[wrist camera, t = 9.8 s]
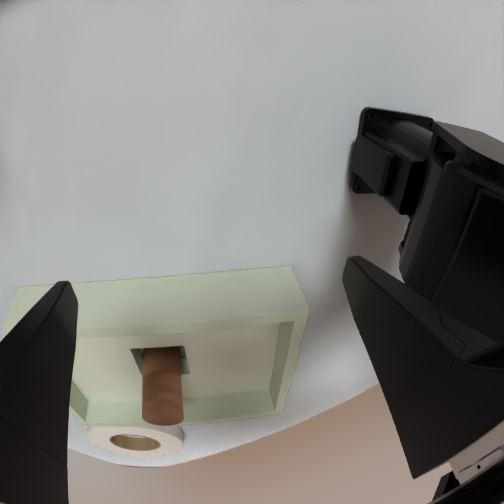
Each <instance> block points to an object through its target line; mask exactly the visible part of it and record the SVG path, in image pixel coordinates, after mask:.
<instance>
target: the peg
mask: <svg viewBox="0 0 504 504" xmlns="http://www.w3.org/2000/svg"><path fill="white" fill-rule="evenodd" d="M142 418H143V420H144V421H146V422H147V423H150V424H153V425H159V426H171V425H176V424H179V423H181V422H182V421H183V420H184V411H183V398H182V383H181V366H180V346H169V347H153V348H143V373H142Z"/></svg>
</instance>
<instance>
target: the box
mask: <svg viewBox="0 0 504 504" xmlns="http://www.w3.org/2000/svg"><path fill="white" fill-rule="evenodd" d="M54 285H55V284H54ZM54 285H38V286H22V287H20V288H19V290H18V292H17V294H16V297H15V299H14V301H13V303H12V306H11V308H10V311H9V313H8V315H7V318H6V320H5V323H4V325H3V328H2V330H3V331H4V333H5V334H6V335H7V334H8V333H9V332H10V331H11V329H12V328H13V327H14V326H15V325H16V324H17V323H18V322H19V321H20V320H21V319H22V317H23V316H24V315H25V314H26V313H27V312H28V311H29V310H30V309H31V308H32V307H33V306H34V305H35V304H36V303H37V302H38V301H39V300H40V299H41V298H42V297H43V296H44V295H45V294H46V293H47V292H48V291H49V290H50V289H51V288H52V287H53V286H54ZM71 285H72V288H73V290H74V292H75V295H76V297H77V299H78V319H77V337H76V351H75V358H74V366H73V374H72V383H71V393H70V405H69V413H70V414H71V415H72V416H73V417H74V418H75V419H76V420H77V421H78V422H79V423H80V424H81V425H89V426H115V427H151V426H159V425H153V424H150V423H147V422H146V421H144V420H143V418H142V373H143V360H142V358H141V355H140V353H139V350H138V348H153V347H169V346H183V345H184V348H185V353H186V357H187V358H185V359H180V366H181V383H182V398H183V411H184V420H183V421H182V422H181V423H179V424H176V425H171V426H177V425H193V424H205V423H216V422H225V421H234V420H242V419H249V418H256V417H263V416H269V415H275V414H281V413H283V410H284V406H285V403H286V399H287V396H288V392H289V388H290V385H291V381H292V377H293V374H294V370H295V366H296V362H297V358H298V355H299V351H300V347H301V343H302V339H303V335H304V330H305V326H306V322H307V318H308V314H309V307H308V305H307V302H306V300H305V298H304V295H303V293H302V290H301V288H300V286H299V283H298V281H297V279H296V276H295V274H294V271H293V269H292V267H291V265H289V266H279V267H268V268H257V269H246V270H235V271H224V272H212V273H201V274H189V275H177V276H164V277H152V278H139V279H126V280H112V281H98V282H84V283H71Z"/></svg>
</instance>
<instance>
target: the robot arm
mask: <svg viewBox="0 0 504 504" xmlns="http://www.w3.org/2000/svg"><path fill="white" fill-rule="evenodd" d="M369 112H371V116H370V117H368V113H369ZM428 122H429V125H428ZM352 170H353V171H352V177H351V182H350V189H351V190H352V191H353V192H354V193H357V194H366V193H377V194H378V195H379V196H380V197H383V198H384V199H385V200H386V201H387V202H388V203H389V204H390V205H391V206H392V207H393V208H394V209H395V210H396V211H397V212H398V213H399V214H401V215H406V216H407V217H408V218H409V219H410V221H409V224H408V227H407V230H406V233H405V236H404V239H403V241H401V243H400V246H399V252H400V255H401V256H400V260H399V270H400V273H401V275H402V278H403V281H404V282H405V283H402V282H401V281H399V280H398V279H396V278H395V277H393V276H391V275H390V274H388V273H387V272H385V271H383V270H382V269H380V268H379V267H377V266H375V265H374V264H372V263H371V262H369V261H367V260H366V259H364V258H362V257H361V256H352V257H349V258H348V259H347V261H346V265H345V268H344V272H343V276H342V280H343V285H344V288H345V291H346V294H347V298H348V301H349V304H350V307H351V311H352V314H353V317H354V320H355V323H356V325H357V328H358V330H359V333H360V335H361V337H362V340H363V342H364V345H365V347H366V350H367V352H368V355H369V357H370V360H371V362H372V365H373V367H374V370H375V372H376V375H377V378H378V380H379V383H380V385H381V388H382V391H383V393H384V396H385V399H386V401H387V404H388V407H389V410H390V412H391V415H392V418H393V420H394V424H395V426H396V430H397V433H398V435H399V438H400V441H401V444H402V447H403V450H404V453H405V456H406V459H407V462H408V465H409V469H410V472H411V475H412V477H413V479H416V478H418V477H420V476H422V475H424V474H426V473H428V472H430V471H432V470H434V469H436V468H438V467H440V466H441V465H443V464H445V463H447V462H449V463H450V465H451V467H452V470H453V471H451V472H450V473H448V474H446V475H444V476H443V477H441V480H440V482H439V485H438V487H437V490H436V492H435V495H434V497H433V500H432V502H430V503H428V504H504V143H503V142H501V141H499V140H497V139H495V138H493V137H491V136H489V135H487V134H485V133H483V132H480V131H476V130H472V129H468V128H464V127H460V126H456V125H452V124H447V123H443V122H438V121H434V120H433V119H432V118H430V117H426V116H421V115H416V114H411V113H405V112H399V111H393V110H387V109H380V108H373V107H366V108H364V109H363V111H362V115H361V122H360V129H359V135H358V136H357V138H356V144H355V150H354V156H353V162H352ZM358 184H359V186H358V187H357V188H355V187H356V185H358ZM77 319H78V299H77V297H76V295H75V292H74V290H73V288H72V285H71V283H70V282H69V281H59V282H57V283H56V284H55V285H54V286H53V287H52V288H51V289H50V290H49V291H48V292H47V293H46V294H45V295H44V296H43V297H42V298H41V299H40V300H39V301H38V302H37V303H36V304H35V305H34V306H33V307H32V308H31V309H30V310H29V311H28V312H27V313H26V314H25V315H24V316H23V317H22V319H21V320H20V321H19V322H18V323H17V324H16V325H15V326H14V327H13V328H12V329H11V331H10V332H9V333H8V334H7V335H6V336H5V337H4V338H3V340H2V341H1V342H0V504H69V500H68V475H67V474H68V472H67V444H68V420H69V405H70V393H71V383H72V374H73V366H74V358H75V351H76V337H77Z"/></svg>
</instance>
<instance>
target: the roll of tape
mask: <svg viewBox="0 0 504 504" xmlns="http://www.w3.org/2000/svg"><path fill="white" fill-rule="evenodd" d="M123 435H137V436H143V437H147V438H131V437H126V436H123ZM88 438H89V439H90V441H91V442H93V443H94V444H95V445H97V446H99V447H101V448H103V449H106V450H108V451H111V452H114V453H118V454H123V455H128V456H137V457H159V456H166V455H169V454H173V453H175V452H177V451H179V450H180V449H181V448H182V447H183V438H182V429H181V428H180V426H179V425H177V426H151V427H115V426H89V425H88Z"/></svg>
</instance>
